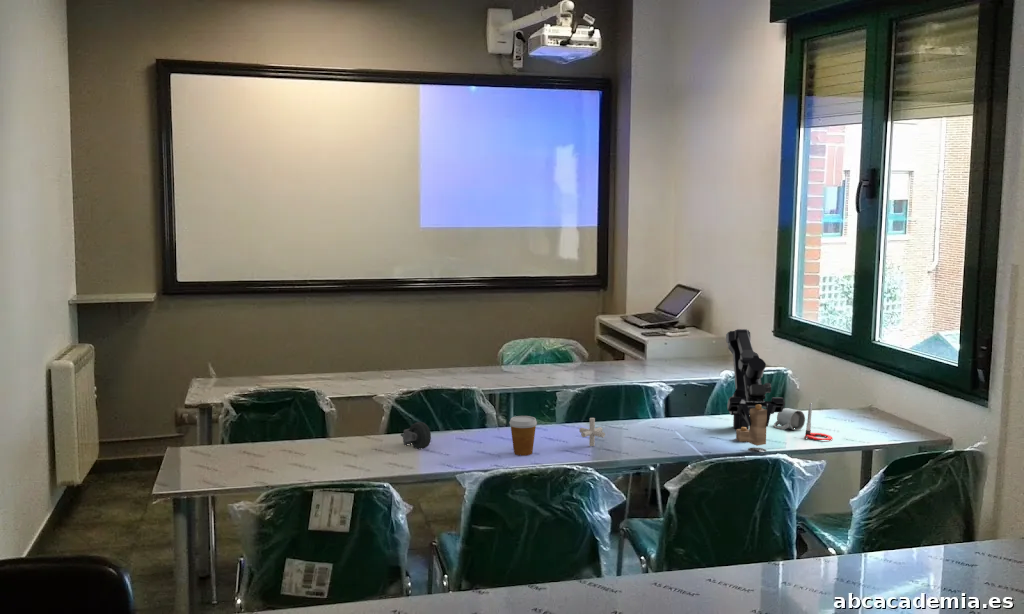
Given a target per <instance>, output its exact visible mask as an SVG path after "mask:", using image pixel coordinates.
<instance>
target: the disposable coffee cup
mask: <svg viewBox="0 0 1024 614" xmlns="http://www.w3.org/2000/svg"><path fill="white" fill-rule="evenodd" d="M508 424H509V426H510V431H511V438H512V439H511V440H512V446H513V448H512V449H513V454H514V455H517V456H520V455H521V456H530V455H532V454H533V450H534V442H535V437H536V427H537V424H538V421H537V419H536V417H534V416H530V415H517V416H513V417H511V418H510V421H509V422H508Z"/></svg>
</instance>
